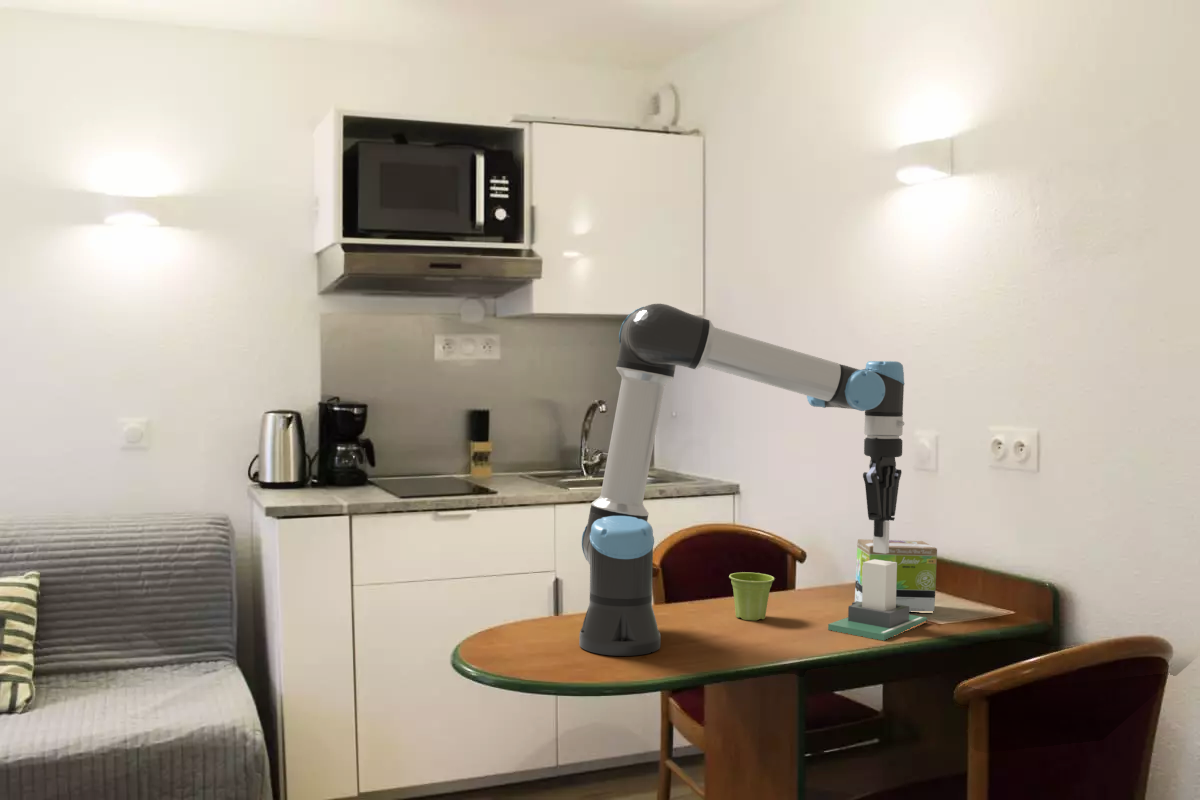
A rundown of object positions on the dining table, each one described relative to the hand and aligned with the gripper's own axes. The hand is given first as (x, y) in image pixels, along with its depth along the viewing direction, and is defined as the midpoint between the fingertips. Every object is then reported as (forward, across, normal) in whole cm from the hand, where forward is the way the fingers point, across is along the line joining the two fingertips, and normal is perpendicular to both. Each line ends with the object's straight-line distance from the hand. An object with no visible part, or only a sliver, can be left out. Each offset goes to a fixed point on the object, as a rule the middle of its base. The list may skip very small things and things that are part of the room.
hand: (880, 552), depth 214 cm
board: (+15, 0, 0) cm, 15 cm away
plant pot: (+15, -12, +23) cm, 30 cm away
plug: (+14, 0, 0) cm, 14 cm away
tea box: (+16, +18, +5) cm, 24 cm away
